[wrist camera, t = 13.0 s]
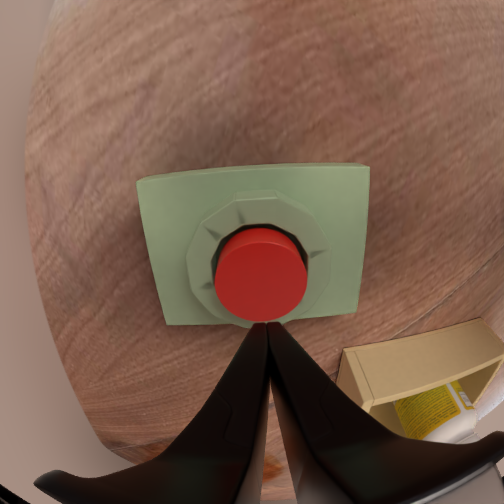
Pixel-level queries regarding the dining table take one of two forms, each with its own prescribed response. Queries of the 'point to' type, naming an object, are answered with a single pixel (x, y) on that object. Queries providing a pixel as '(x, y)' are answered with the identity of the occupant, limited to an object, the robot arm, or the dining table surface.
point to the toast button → (260, 275)
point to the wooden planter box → (420, 367)
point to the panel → (255, 216)
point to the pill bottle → (438, 415)
